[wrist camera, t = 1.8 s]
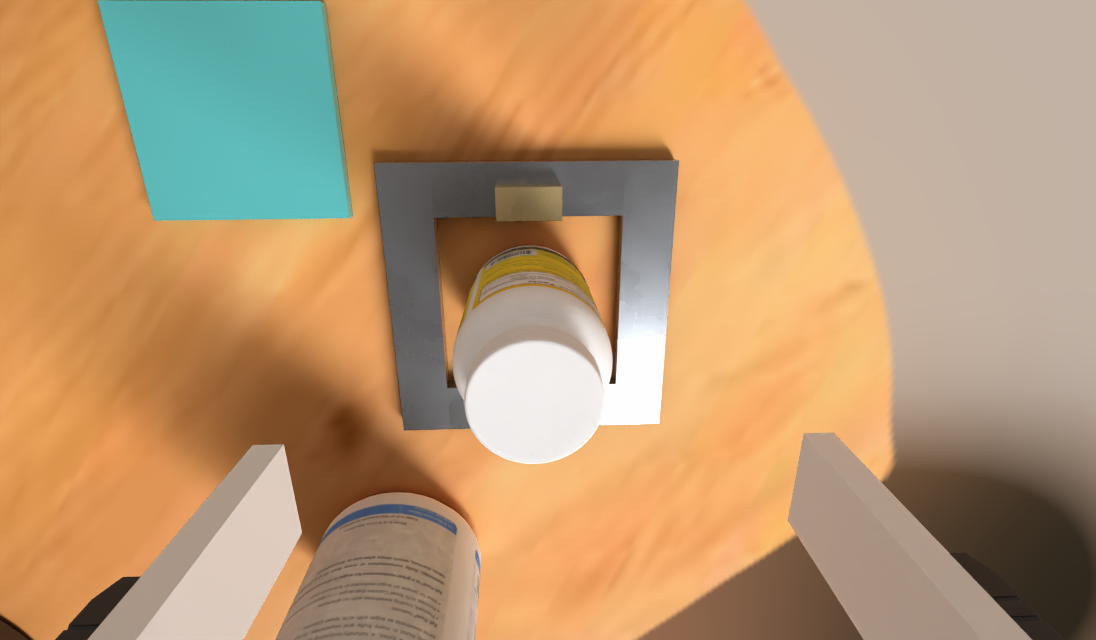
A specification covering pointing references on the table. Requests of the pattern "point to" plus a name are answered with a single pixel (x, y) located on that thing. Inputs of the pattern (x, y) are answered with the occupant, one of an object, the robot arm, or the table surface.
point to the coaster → (231, 107)
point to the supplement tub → (390, 575)
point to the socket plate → (526, 195)
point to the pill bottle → (532, 356)
